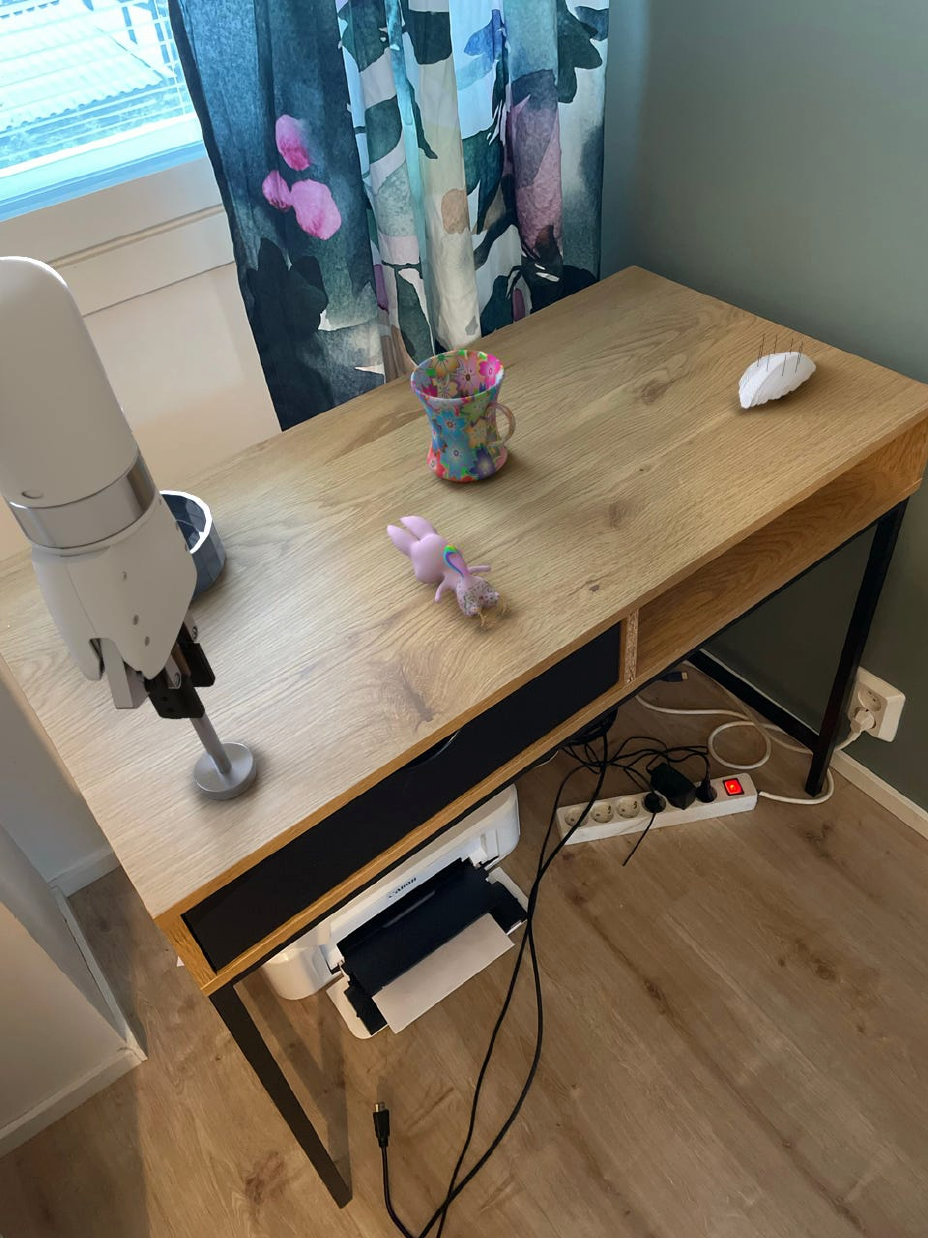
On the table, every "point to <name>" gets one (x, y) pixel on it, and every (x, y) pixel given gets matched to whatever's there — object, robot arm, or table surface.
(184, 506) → the bowl
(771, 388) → the pincushion
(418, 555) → the rabbit figure
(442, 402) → the mug
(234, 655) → the table surface
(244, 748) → the wood-topped metal stand
